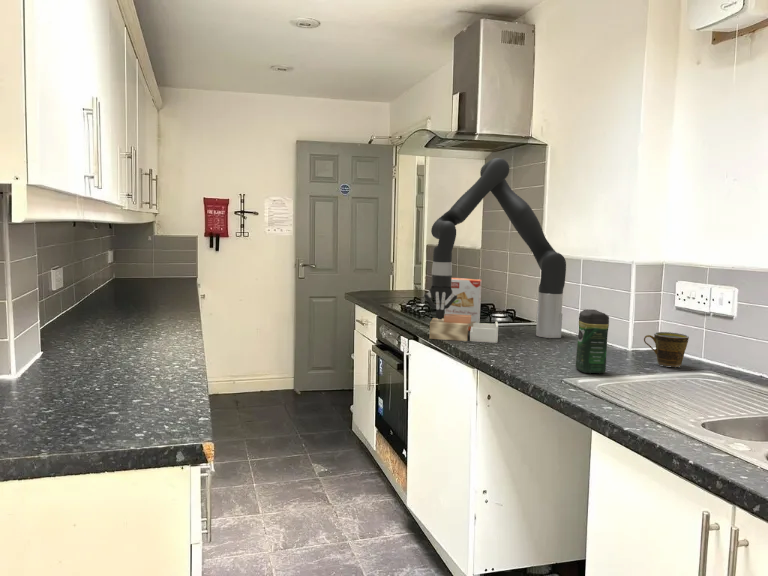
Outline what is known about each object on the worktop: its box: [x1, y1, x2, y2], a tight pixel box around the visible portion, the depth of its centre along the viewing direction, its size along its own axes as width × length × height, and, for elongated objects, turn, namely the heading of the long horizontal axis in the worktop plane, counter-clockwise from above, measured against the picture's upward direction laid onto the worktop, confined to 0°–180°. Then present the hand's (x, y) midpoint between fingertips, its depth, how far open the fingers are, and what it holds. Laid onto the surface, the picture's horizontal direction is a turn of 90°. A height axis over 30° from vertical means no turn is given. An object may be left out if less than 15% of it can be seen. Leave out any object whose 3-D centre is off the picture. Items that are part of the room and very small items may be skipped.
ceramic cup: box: [643, 331, 690, 367], centre depth 194 cm, size 13×10×10 cm
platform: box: [429, 317, 469, 342], centre depth 232 cm, size 14×12×6 cm
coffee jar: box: [575, 308, 610, 374], centre depth 183 cm, size 10×8×19 cm
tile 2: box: [457, 314, 471, 324], centre depth 231 cm, size 5×5×2 cm
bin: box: [469, 321, 499, 344], centre depth 230 cm, size 10×12×6 cm
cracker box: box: [444, 277, 483, 332], centre depth 249 cm, size 14×6×21 cm, turn 75°
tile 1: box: [443, 313, 458, 323], centre depth 232 cm, size 5×5×2 cm
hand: (439, 319), depth 232 cm, fingers closed
